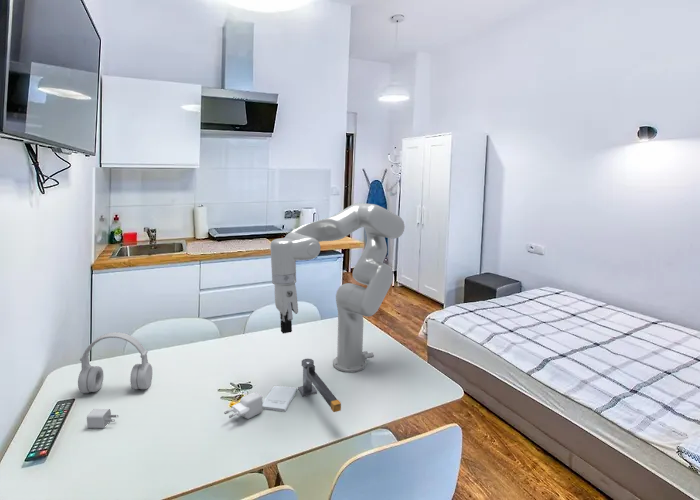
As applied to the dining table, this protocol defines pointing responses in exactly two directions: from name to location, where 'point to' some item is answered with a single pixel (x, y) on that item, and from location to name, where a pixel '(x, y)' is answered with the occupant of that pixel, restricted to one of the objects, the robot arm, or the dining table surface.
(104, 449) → the dining table surface
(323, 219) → the robot arm
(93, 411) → the usb wall charger
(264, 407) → the external hard drive
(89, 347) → the headphones
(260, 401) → the power adapter
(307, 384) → the post
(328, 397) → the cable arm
